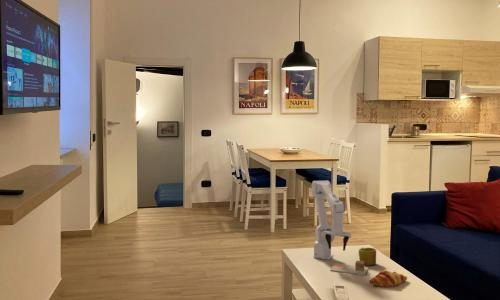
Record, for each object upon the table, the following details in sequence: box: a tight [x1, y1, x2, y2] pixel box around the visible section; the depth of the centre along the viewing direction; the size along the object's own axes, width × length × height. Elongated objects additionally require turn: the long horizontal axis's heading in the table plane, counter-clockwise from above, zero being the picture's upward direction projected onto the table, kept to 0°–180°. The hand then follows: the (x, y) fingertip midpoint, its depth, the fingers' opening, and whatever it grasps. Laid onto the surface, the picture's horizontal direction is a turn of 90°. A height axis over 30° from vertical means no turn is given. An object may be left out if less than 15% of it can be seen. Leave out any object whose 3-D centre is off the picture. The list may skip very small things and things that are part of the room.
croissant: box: [369, 270, 408, 288], centre depth 228 cm, size 21×10×8 cm, turn 110°
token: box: [354, 260, 365, 271], centre depth 244 cm, size 4×4×4 cm
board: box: [330, 262, 369, 276], centre depth 247 cm, size 18×11×1 cm, turn 68°
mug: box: [358, 246, 377, 266], centre depth 257 cm, size 12×10×10 cm
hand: (337, 249), depth 250 cm, fingers open, 7 cm apart
